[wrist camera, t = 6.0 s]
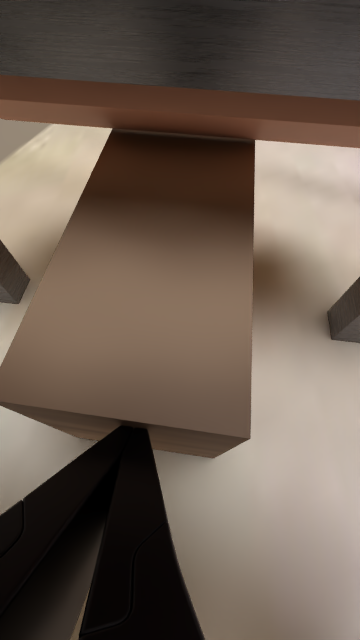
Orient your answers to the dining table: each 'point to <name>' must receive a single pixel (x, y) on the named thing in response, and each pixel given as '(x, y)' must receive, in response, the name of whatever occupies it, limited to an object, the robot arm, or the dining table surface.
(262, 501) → the dining table surface
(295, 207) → the dining table surface
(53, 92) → the flap door
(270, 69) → the gate frame
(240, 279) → the block
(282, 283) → the dining table surface
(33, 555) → the robot arm
